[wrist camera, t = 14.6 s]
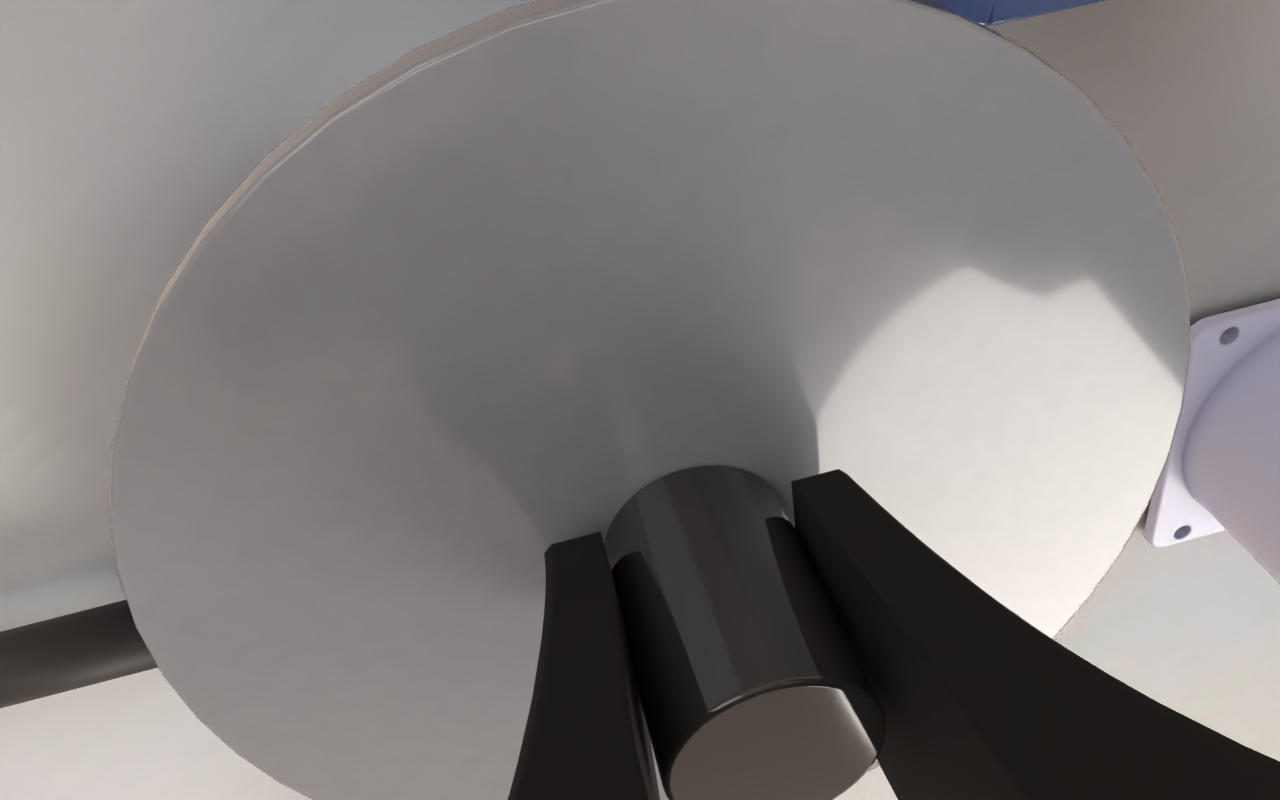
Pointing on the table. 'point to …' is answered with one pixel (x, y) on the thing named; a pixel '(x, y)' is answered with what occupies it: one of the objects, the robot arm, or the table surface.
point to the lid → (638, 382)
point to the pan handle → (70, 653)
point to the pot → (1008, 8)
